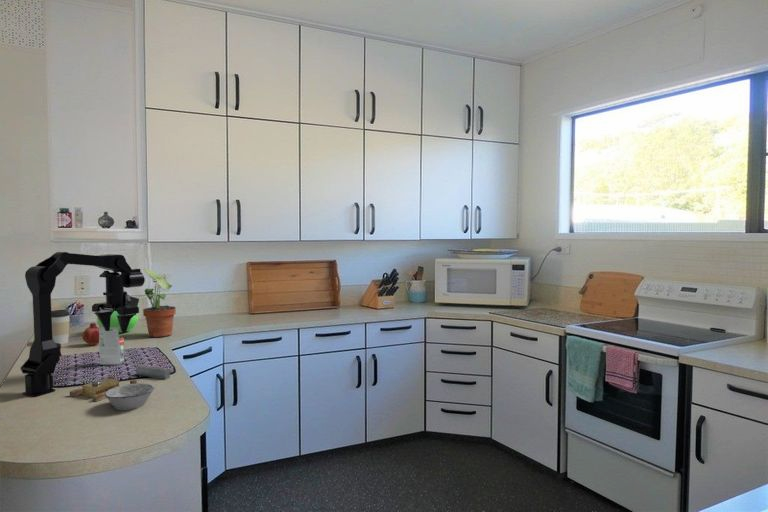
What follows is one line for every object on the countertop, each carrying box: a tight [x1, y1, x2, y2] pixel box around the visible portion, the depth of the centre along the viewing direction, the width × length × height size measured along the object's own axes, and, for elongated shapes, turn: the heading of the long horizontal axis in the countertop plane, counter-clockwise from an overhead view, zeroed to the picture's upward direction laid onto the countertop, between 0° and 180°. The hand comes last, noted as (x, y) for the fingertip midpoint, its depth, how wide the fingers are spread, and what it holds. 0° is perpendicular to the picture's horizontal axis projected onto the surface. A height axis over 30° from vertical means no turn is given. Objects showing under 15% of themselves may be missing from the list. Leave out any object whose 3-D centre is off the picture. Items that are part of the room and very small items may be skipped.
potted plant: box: [142, 268, 177, 338], centre depth 241 cm, size 16×15×35 cm
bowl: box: [105, 382, 155, 411], centre depth 147 cm, size 13×13×5 cm
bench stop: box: [135, 364, 171, 380], centre depth 176 cm, size 2×14×3 cm, turn 65°
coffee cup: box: [51, 309, 71, 345], centre depth 228 cm, size 9×9×15 cm
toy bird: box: [96, 310, 139, 334], centre depth 250 cm, size 18×17×15 cm
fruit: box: [81, 322, 99, 346], centre depth 223 cm, size 8×8×10 cm
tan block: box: [81, 377, 120, 398], centre depth 158 cm, size 8×6×4 cm
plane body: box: [69, 375, 138, 402], centre depth 159 cm, size 14×12×2 cm
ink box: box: [98, 326, 125, 366], centre depth 192 cm, size 4×8×15 cm, turn 90°
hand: (115, 332), depth 181 cm, fingers open, 9 cm apart
